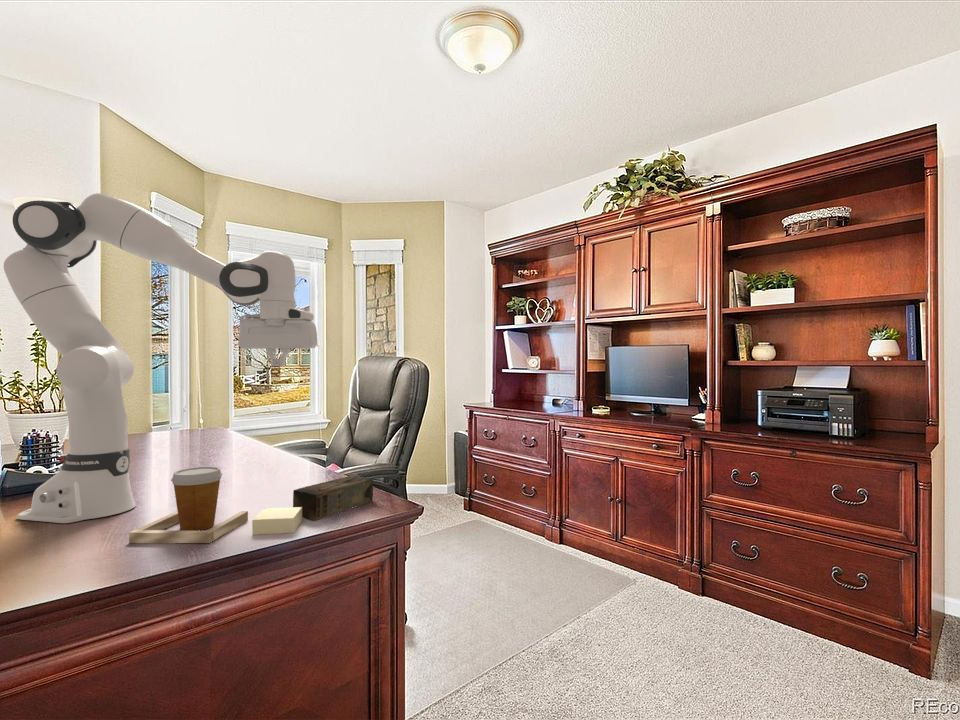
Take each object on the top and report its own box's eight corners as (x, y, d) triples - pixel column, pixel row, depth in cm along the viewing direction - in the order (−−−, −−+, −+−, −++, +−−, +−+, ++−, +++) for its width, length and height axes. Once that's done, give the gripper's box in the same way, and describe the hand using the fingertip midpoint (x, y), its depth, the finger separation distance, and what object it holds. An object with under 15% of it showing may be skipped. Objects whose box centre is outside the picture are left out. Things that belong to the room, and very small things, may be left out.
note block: (252, 534, 101) (252, 519, 101) (264, 522, 109) (264, 508, 109) (293, 532, 102) (293, 518, 102) (302, 520, 110) (302, 506, 110)
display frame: (129, 542, 97) (129, 532, 97) (178, 519, 111) (177, 510, 111) (209, 543, 96) (209, 533, 96) (247, 520, 111) (247, 511, 111)
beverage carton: (375, 501, 126) (374, 475, 126) (314, 523, 109) (314, 493, 109) (351, 497, 130) (351, 472, 130) (290, 517, 113) (290, 488, 113)
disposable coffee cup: (191, 519, 111) (191, 465, 111) (231, 520, 110) (231, 466, 110) (160, 534, 102) (159, 475, 102) (204, 535, 101) (203, 475, 101)
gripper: (233, 312, 130) (233, 366, 130) (310, 312, 129) (310, 365, 129) (245, 315, 136) (246, 366, 136) (319, 314, 135) (319, 365, 135)
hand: (278, 365), depth 132 cm, fingers closed
